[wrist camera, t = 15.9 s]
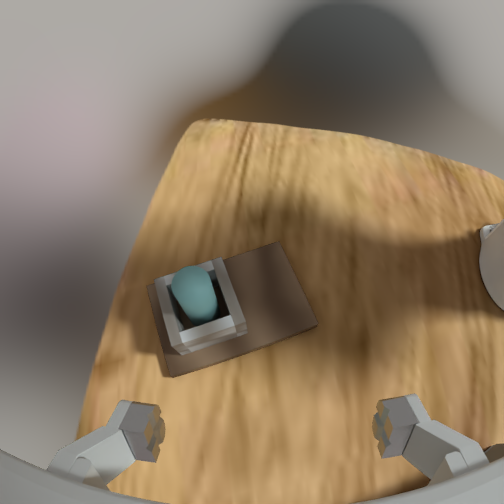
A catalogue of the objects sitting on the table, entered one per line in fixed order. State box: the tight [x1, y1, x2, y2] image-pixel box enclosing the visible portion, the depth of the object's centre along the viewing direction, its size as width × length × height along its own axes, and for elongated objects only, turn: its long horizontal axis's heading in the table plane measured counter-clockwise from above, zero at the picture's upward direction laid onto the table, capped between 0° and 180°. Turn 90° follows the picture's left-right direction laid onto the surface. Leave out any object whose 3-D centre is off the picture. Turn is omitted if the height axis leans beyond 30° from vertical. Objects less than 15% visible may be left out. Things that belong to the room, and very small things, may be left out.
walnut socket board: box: [147, 241, 318, 378], centre depth 36 cm, size 18×12×6 cm, turn 110°
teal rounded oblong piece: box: [171, 266, 220, 327], centre depth 33 cm, size 4×4×8 cm
